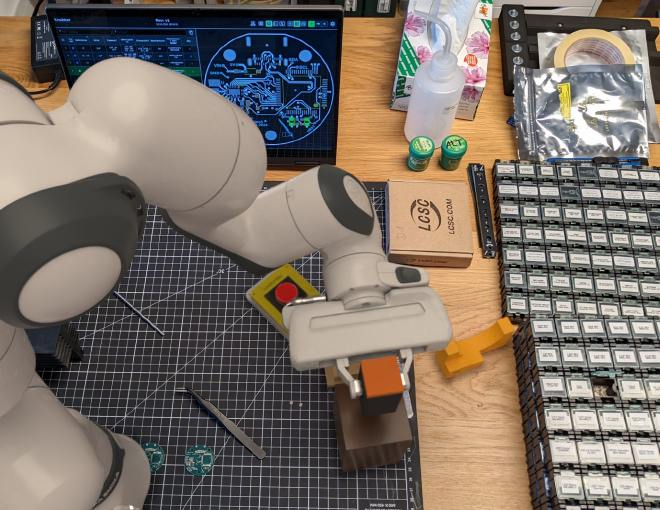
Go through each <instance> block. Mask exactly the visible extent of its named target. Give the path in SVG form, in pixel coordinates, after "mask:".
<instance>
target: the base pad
mask: <svg viewBox="0 0 660 510" xmlns="http://www.w3.org/2000/svg"><path fill="white" fill-rule="evenodd" d="M360 363H361V362H358V363H352V364H349V370H348V372H349V374H350V375H351V376H352V377H353V378H354V380H358V375H359V369H360ZM324 372H325V379H326V386H327V388H335V384H340V383H345V382H344V381H343V380H342V379H341V377H340V376H339V375H338V374H337V368H336V366H331V367H325V368H324Z"/></svg>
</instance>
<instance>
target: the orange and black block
mask: <svg viewBox="0 0 660 510" xmlns="http://www.w3.org/2000/svg"><path fill="white" fill-rule="evenodd" d="M400 373H401V370H400V365H399V359H398V357H397V356H390V357H384V358H377V359H370V360H364V361H361V363H360V369H359V375H358V380H361V382H362V388H363V393H364V395H363V397H362V398H359V401H360V406H361V411H362V417H368V416H374V415H381V414H387V413H393V412H396V410H397V407H398V405H399V402H400V400H401V397H402V395H403V396H404V393H405V391H404V387H403V383H402V378H401V374H400Z"/></svg>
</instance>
